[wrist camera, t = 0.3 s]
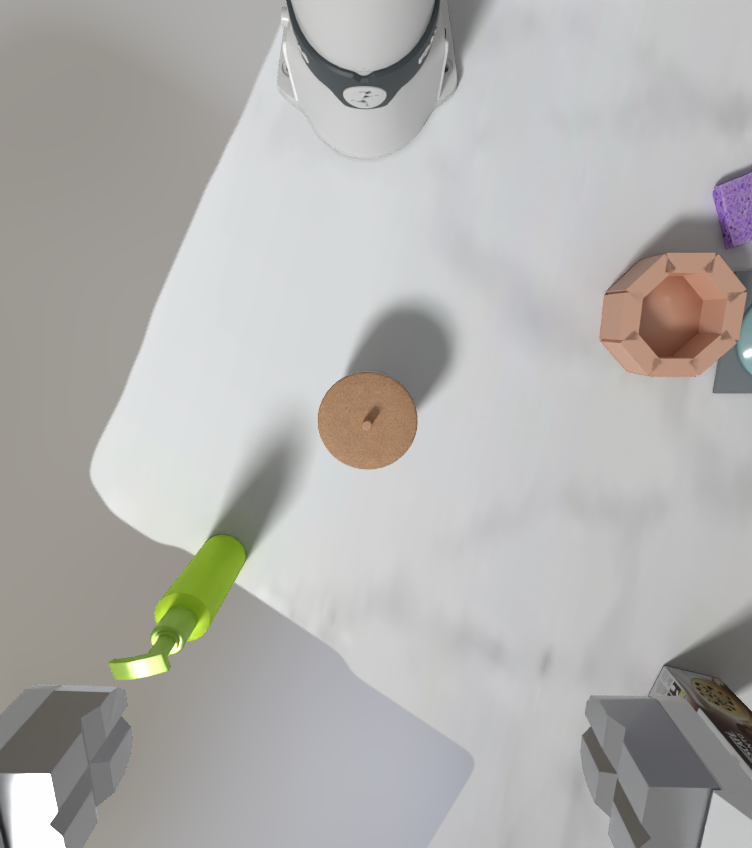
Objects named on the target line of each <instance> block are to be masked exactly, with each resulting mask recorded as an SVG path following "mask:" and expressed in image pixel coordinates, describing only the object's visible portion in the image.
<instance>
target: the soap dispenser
mask: <svg viewBox="0 0 752 848" xmlns="http://www.w3.org/2000/svg"><path fill="white" fill-rule="evenodd" d="M245 560H246V553H245V549H244V547H243V546H242V544H241V543H240V542H239V541H238V540H237V539H235V538H233V537H231V536H228V535H216V536H213V537H211V538H210V539H208V540H207V541H206V542H205V544H204V545H203V546H202V548H201V549H200V550H199V551H198V553H197V554H196V555H195V556H194V558H193V559H192V560H191V562H190V563H189V564H188V566H187V567H186V568H185V569H184V571H183V572H182V573H181V574H180V576H179V577H178V578H177V579H176V581H175V582H174V583H173V585H172V586H171V587H170V588H169V590H168V591H167V592H166V594H165V595H164V596H163V597H162V599H161V600H160V601H159V603H158V604H157V606H156V609H155V621H156V624H157V626H156V627H155V629H154V630H153V631H152V633H151V636H150V642H151V645H152V648H151V649H150V651H149V652H148V654H144V655H139V656H135V657H130V658H122V659H113V660H112V661H110V662H109V663H108V664H109V666H110V669H111V671H112V673H113V676H114V678H115V679H116V680H129V679H138V678H143V677H147V676H151V675H155V674H159V673H163V672H167V671H169V669H170V667H171V665H170V663H169V660H168V657H167V656H168V655H174V654H177V653H178V652H180V651H181V650H182V648H183V647H184V645H185V644H186V642H187V641H193V640H196V639H198V638H200V637H201V636H202V635H204V634H205V633H206V631H207V630H208V628H209V626H210V625H211V623H212V621H213V619H214V617H215V616H216V614H217V612H218V610H219V608H220V607H221V605H222V603H223V601H224V599H225V598H226V596H227V594H228V592H229V590H230V589H231V587H232V585H233V583H234V581H235V580H236V578H237V576H238V574H239V572H240V571H241V569H242V567H243V565H244V563H245Z"/></svg>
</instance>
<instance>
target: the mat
mask: <svg viewBox="0 0 752 848" xmlns="http://www.w3.org/2000/svg"><path fill="white" fill-rule="evenodd" d="M733 273H734V274H735V275H736V277H737V278H738V279H739V280H740V282H741V283H742V284H743V285H744V287H745V288H746V290H745V291H744V292H747V296H746V302H745V308H744V313H745V311H746V310H747V308H748V307H749V306H750V305H751V304H752V272H733ZM744 313H743V314H744ZM713 393H752V376H751V375H749V374H748V373H747V372H746V371H745V370H744V369H743V367H742V366H741V364H740V362H739V360H738V357H737V354H736V348H735V345H734V346H733V347H732V348H731V349H730V350H728V351H727V352H726V353H725V354H724V355H723V356H721V357H720V358H719V359H718V364H717V370H716V376H715V382H714V388H713Z"/></svg>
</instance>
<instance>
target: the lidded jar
mask: <svg viewBox="0 0 752 848" xmlns="http://www.w3.org/2000/svg"><path fill="white" fill-rule="evenodd" d="M318 429H319V433H320V437H321V439H322V441H323V443H324V445H325V446H326V448H327V449H328V451H329V452H330V453H331V454H332V455H333V456H334V457H335V458H336V459H338V460H339V461H341V462H342V463H344V464H346V465H348V466H351V467H354V468H358V469H377V468H382V467H385V466H387V465H390V464H392V463H393V462H395V461H397V460H398V459H399V458H400V457H402V456H403V455H404V454H405V452H406V451H407V450H408V449H409V447H410V446H411V444H412V442H413V440H414V438H415V434H416V431H417V412H416V407H415V405H414V402H413V400H412V398H411V396H410V394H409V393H408V391H407V390H406V389H405V388H404V387H403V386H402V385H401V384H400V383H399V382H398V381H397V380H395V379H394V378H392V377H390V376H388V375H386V374H384V373H380V372H376V371H360V372H355V373H352V374H350V375H347V376H345V377H344V378H342V379H340V380H339V381H337V382H336V383H335V384H334V385H333V386H332V387H331V388H330V389H329V390H328V392H327V393H326V395H325V396H324V398H323V400H322V402H321V405H320V408H319V412H318Z"/></svg>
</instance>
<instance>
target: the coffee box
mask: <svg viewBox="0 0 752 848" xmlns="http://www.w3.org/2000/svg"><path fill="white" fill-rule="evenodd" d="M649 696H681V697H682V698H684V699H685V700H687V701H688V702H689V703H690V705H691V706H692V707H693V708H694V710H695V711H696V712H697V713H698V714H699V716H700V717H701V718H702V719H703V721H704V722H705V723H706V724H707V726H708V727H709V728H710V729H711V731H712V732H713V733H714V734H715V736H716V737H717V738H718V739H719V740H720V742H721V743H722V744H723V745H724V747H725V748H726V749H727V750H728V752H729V753H730V754H731V755H732V757H733V758H734V759H735V760H736V762H737V763H738V764H739V765H740V766H741V768H742V769H743V770H744V771H745V773H746V774H747V775H748V776H749V778H750V779H751V780H752V711H751V710H750V709H749V708H748V707H747V706H746V705H745V704H744V703H743V702H742V701H741V700H740V699H739V698H738V697H737V696H736V695H735V694H734V693H733V692H732V691H731V690H730V689H729V688H728V687H727V686H726V685H725V684H724V683H723V681H722V680H721V679H718V678H714V677H710V676H706V675H702V674H698V673H693V672H689V671H685V670H681V669H677V668H672V667H668V666H664V667H663V668H662V670H661V672H660V674H659V676H658V678H657V680H656V682H655V684H654V686H653V688H652V690H651V692H650V694H649ZM649 696H648V697H649Z"/></svg>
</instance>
